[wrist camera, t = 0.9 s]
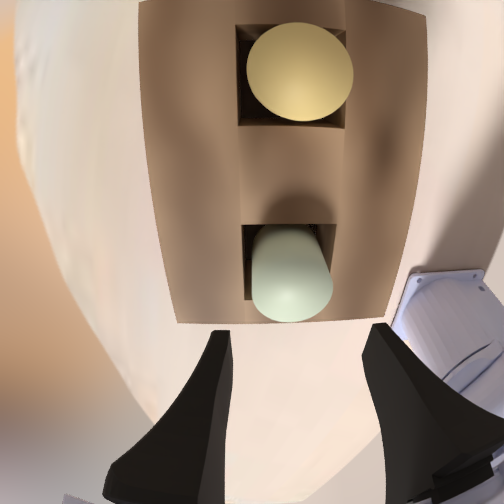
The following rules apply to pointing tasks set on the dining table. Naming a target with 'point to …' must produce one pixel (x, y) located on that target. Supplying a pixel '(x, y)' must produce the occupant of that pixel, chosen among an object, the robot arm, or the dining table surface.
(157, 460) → the robot arm
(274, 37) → the mustard peg
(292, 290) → the sage peg
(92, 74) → the dining table surface
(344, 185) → the peg block
